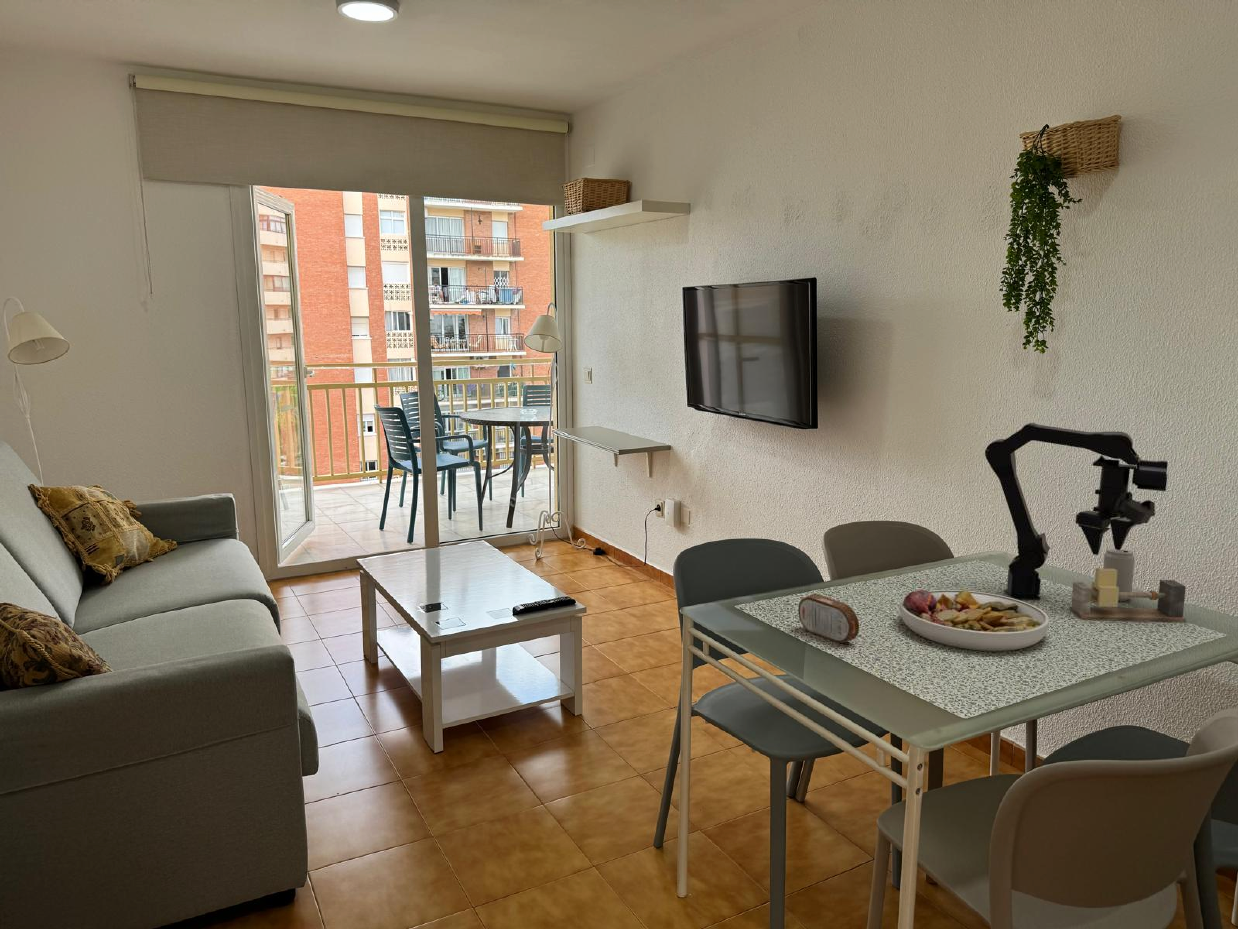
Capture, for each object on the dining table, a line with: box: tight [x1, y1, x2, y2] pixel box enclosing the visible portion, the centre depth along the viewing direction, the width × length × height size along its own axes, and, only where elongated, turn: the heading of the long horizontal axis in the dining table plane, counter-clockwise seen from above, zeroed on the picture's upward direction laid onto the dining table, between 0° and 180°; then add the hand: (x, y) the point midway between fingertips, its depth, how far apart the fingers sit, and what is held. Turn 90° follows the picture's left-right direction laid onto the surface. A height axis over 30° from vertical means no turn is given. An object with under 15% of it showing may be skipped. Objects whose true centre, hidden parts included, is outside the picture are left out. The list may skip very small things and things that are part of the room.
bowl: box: [899, 589, 1050, 652], centre depth 189 cm, size 30×30×8 cm
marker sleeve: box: [1090, 568, 1119, 608], centre depth 199 cm, size 4×4×8 cm
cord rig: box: [1068, 579, 1187, 623], centre depth 199 cm, size 22×7×8 cm, turn 85°
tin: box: [798, 593, 860, 644], centre depth 185 cm, size 15×3×8 cm, turn 35°
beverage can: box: [1102, 547, 1135, 602], centre depth 212 cm, size 6×6×12 cm
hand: (1106, 552), depth 204 cm, fingers open, 9 cm apart
